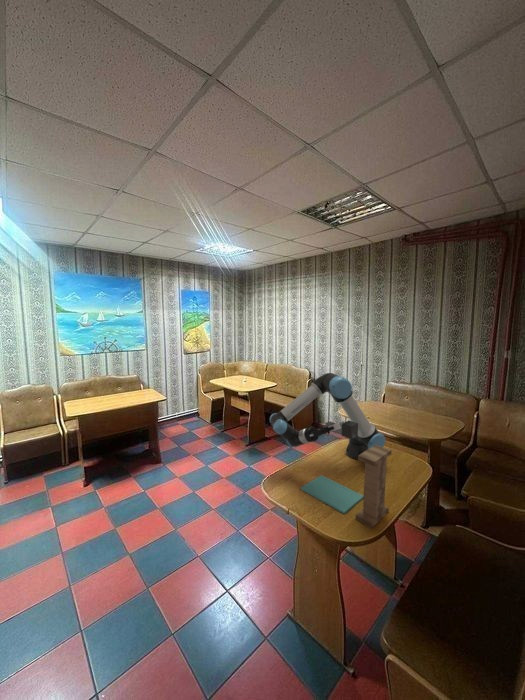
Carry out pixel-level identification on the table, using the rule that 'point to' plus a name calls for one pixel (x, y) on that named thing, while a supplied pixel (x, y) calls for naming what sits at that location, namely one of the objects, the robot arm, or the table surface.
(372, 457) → the walnut stand
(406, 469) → the table surface
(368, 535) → the table surface
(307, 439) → the robot arm
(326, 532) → the table surface
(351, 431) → the bar
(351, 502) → the teal mat
